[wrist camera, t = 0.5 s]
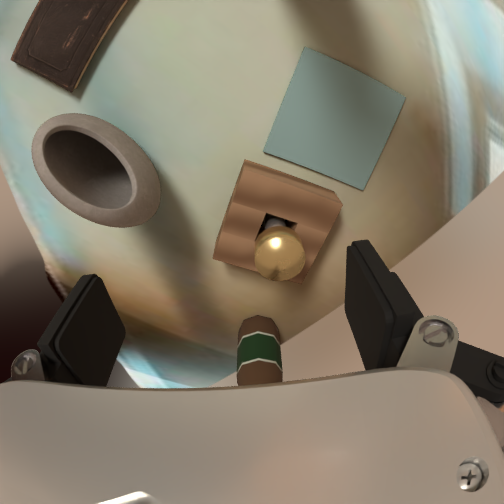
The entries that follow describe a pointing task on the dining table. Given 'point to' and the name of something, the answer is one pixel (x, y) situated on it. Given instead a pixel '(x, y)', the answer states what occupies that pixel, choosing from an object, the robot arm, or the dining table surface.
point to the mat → (334, 119)
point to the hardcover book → (65, 38)
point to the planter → (96, 170)
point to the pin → (278, 250)
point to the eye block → (276, 203)
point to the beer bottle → (258, 352)
